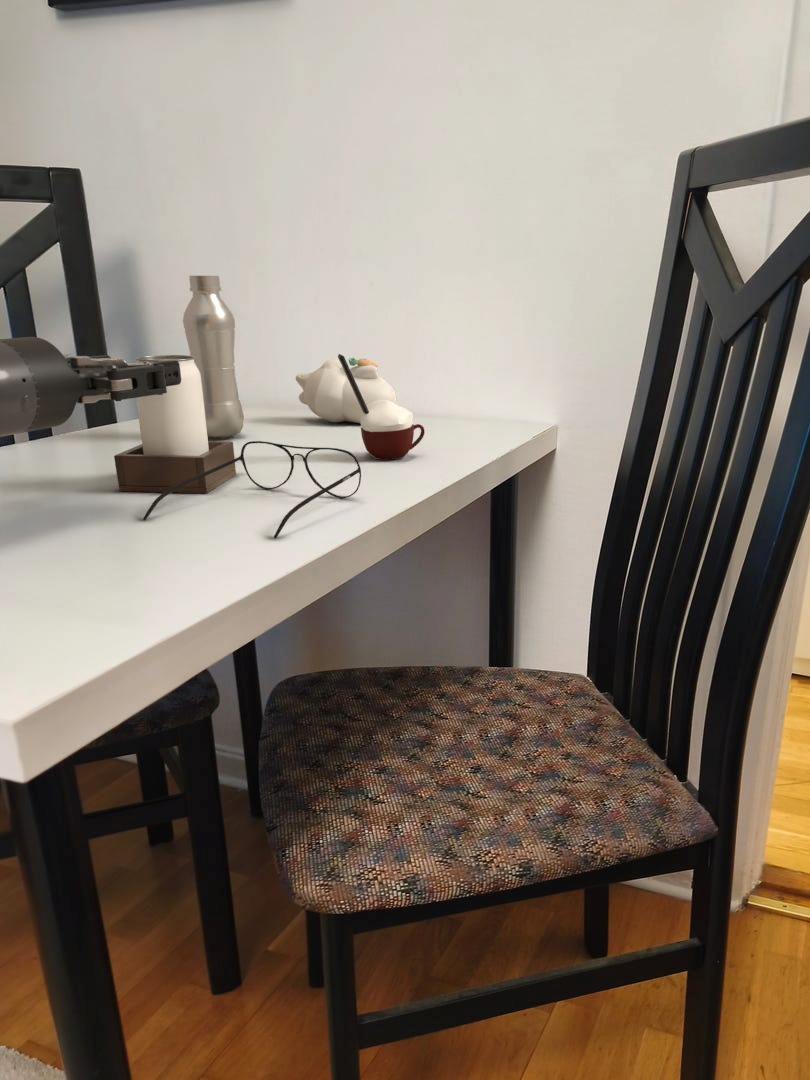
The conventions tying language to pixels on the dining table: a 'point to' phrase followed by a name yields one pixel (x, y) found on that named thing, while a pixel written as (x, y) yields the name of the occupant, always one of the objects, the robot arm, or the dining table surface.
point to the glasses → (276, 486)
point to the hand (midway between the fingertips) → (143, 369)
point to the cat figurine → (343, 390)
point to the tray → (174, 469)
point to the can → (174, 413)
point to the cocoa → (384, 424)
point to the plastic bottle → (214, 355)
